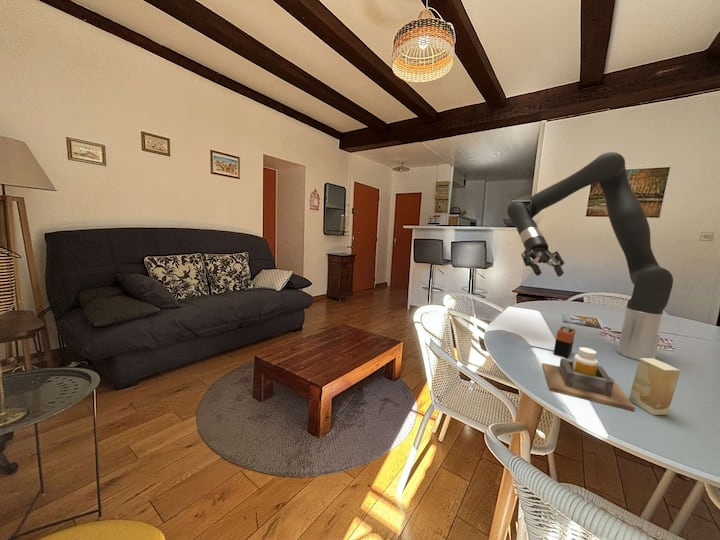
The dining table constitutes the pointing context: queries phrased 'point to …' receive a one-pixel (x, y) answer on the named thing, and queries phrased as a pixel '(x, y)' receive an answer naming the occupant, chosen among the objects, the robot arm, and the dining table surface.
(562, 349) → the battery
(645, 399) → the skincare box
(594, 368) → the supplement bottle
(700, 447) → the dining table surface
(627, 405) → the walnut holder board
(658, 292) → the robot arm
